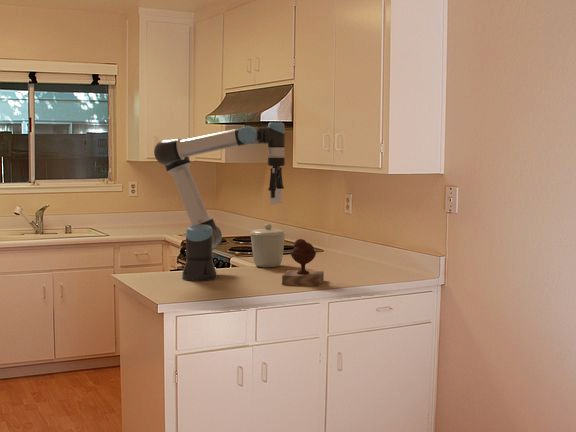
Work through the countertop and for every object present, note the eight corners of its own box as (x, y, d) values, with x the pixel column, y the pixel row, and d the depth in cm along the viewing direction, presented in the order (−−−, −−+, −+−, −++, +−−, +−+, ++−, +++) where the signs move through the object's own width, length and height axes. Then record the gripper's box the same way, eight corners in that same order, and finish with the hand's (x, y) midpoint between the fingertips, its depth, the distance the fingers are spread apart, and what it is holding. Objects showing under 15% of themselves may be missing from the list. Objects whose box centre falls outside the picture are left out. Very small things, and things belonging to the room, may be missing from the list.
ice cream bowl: (294, 276, 328) (294, 241, 326) (287, 271, 339) (288, 237, 337) (318, 275, 331) (318, 240, 329) (311, 270, 341) (311, 237, 340)
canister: (264, 270, 367) (264, 226, 365) (242, 265, 381) (242, 223, 379) (293, 266, 378) (293, 223, 376) (270, 262, 392) (271, 220, 390)
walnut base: (282, 284, 330) (282, 275, 329) (287, 279, 343) (287, 270, 343) (319, 286, 327) (319, 276, 327) (323, 280, 341) (323, 271, 340)
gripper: (279, 157, 334) (279, 206, 336) (289, 156, 359) (289, 202, 361) (262, 157, 336) (262, 206, 338) (273, 156, 360) (273, 201, 362)
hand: (276, 204), depth 349 cm, fingers open, 13 cm apart
